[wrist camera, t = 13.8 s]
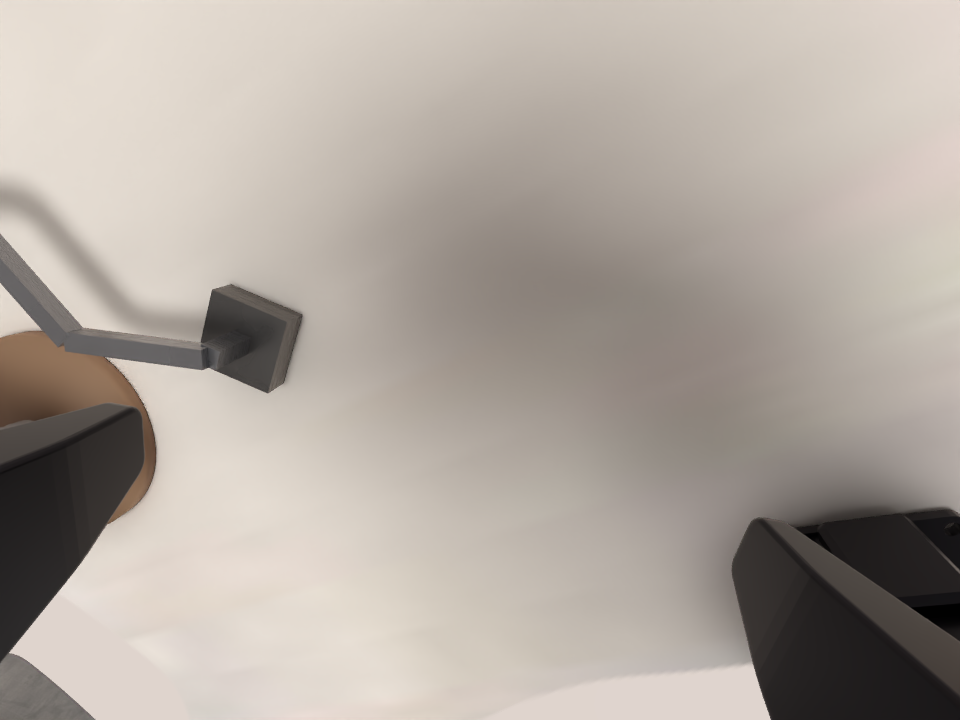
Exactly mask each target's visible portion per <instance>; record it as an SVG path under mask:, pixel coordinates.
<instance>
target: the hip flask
mask: <svg viewBox="0 0 960 720" xmlns="http://www.w3.org/2000/svg"><path fill="white" fill-rule="evenodd" d="M0 720H95V719H94V718H93V717H92V716H91V715H90V714H89V713H88V712H86V711H85V710H84V709H83V708H82V707H81V706H80V705H79V704H78V703H77V702H76V701H75V700H73V699H72V698H71V697H70V696H69V695H68V694H67V693H65V692H64V691H63V690H62V689H61V688H60V687H59V686H57V685H56V684H55V683H54V682H52V681H51V680H50V679H49V678H48V677H47V676H45V675H44V674H43V673H42V672H40V671H39V670H38V669H37V668H35V667H34V666H33V665H32V664H30V663H29V662H28V661H26V660H25V659H23V658H22V657H20V656H17V655H14V654H9V653H8V654H7V656H6V657H5V658H4V659H3V661H2V662H1V663H0Z"/></svg>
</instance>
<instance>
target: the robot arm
mask: <svg viewBox="0 0 960 720" xmlns="http://www.w3.org/2000/svg"><path fill="white" fill-rule="evenodd" d="M144 460H145V448H144V431H143V418H142V414H141V412H140V410H139V409H137V408H136V407H133V406H128V405H122V404H117V403H103V404H99V405H95V406H91V407H87V408H83V409H79V410H76V411H72V412H68V413H64V414H60V415H56V416H52V417H48V418H44V419H40V420H36V421H33V422H29V423H25V424H21V425H17V426H13V427H9V428H5V429H1V430H0V663H1V662H2V661H3V659H4V658H5V657H6V656H7V654H8V653H9V652H10V650H11V649H12V648H13V647H14V646H15V645H16V643H17V642H18V641H19V639H20V638H21V637H22V636H23V635H24V633H25V632H26V631H27V630H28V628H29V627H30V626H31V625H32V623H33V622H34V621H35V620H36V618H37V617H38V616H39V615H40V613H41V612H42V611H43V610H44V609H45V607H46V606H47V605H48V604H49V603H50V601H51V600H52V599H53V598H54V596H55V595H56V594H57V593H58V591H59V590H60V589H61V588H62V587H63V585H64V584H65V583H66V582H67V580H68V579H69V578H70V576H71V575H72V574H73V573H74V571H75V570H76V569H77V567H78V566H79V565H80V564H81V562H82V561H83V559H84V558H85V556H86V555H87V554H88V552H89V551H90V549H91V548H92V546H93V545H94V543H95V542H96V540H97V539H98V537H99V536H100V534H101V533H102V531H103V529H104V528H105V526H106V525H107V523H108V522H109V520H110V519H111V517H112V516H113V514H114V513H115V511H116V510H117V508H118V506H119V505H120V503H121V502H122V500H123V499H124V497H125V496H126V494H127V493H128V491H129V490H130V488H131V487H132V485H133V484H134V482H135V480H136V479H137V477H138V476H139V474H140V472H141V470H142V468H143V465H144ZM949 523H954V524H953V526H952V527H951V528H948V529H944V528H945V526H946V525H947V524H949ZM732 577H733V581H734V586H735V590H736V594H737V598H738V603H739V607H740V611H741V615H742V619H743V624H744V628H745V632H746V636H747V641H748V645H749V649H750V653H751V657H752V661H753V665H754V669H755V672H756V676H757V679H758V682H759V686H760V689H761V692H762V695H763V698H764V701H765V704H766V707H767V710H768V712H769V715H770V718H771V720H960V514H958V513H957V512H955V511H952V510H939V511H930V512H922V513H914V514H906V515H902V514H893V515H885V516H876V517H868V518H860V519H852V520H843V521H835V522H827V523H823V524H822V525H815V526H807V527H798V528H793V527H792V526H790V525H789V524H787V523H786V522H783V521H779V520H773V519H767V518H761V517H758V518H756V519H754V520H753V521H752V522H751V523H750V524H749V526H748V528H747V530H746V533H745V535H744V537H743V539H742V541H741V543H740V546H739V548H738V550H737V552H736V554H735V557H734V559H733V563H732Z"/></svg>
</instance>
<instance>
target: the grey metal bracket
mask: <svg viewBox="0 0 960 720" xmlns="http://www.w3.org/2000/svg"><path fill="white" fill-rule="evenodd" d="M0 283H1V284H2V285H3V287H4V288H5V289H6V290H7V291H8V292H9V293H10V294H11V295H12V297H13V298H14V299H15V300H16V301H17V302H18V303H19V304H20V306H21V307H22V308H23V309H24V310H25V311H26V312H27V313H28V315H29V316H30V317H31V318H32V319H33V320H34V321H35V322H36V323H37V325H38V326H39V327H40V328H41V329H42V330H43V331H44V332H45V334H46V335H47V336H48V337H49V338H50V339H51V340H52V341H53V343H54V344H55V345H56V346H57V347H62V346H64V348H65V352H72V353H80V354H87V355H94V356H102V357H109V358H117V359H124V360H131V361H139V362H146V363H153V364H161V365H168V366H176V367H183V368H190V369H198V370H204V369H206V368H211V369H213V370H215V371H218V372H220V373H222V374H224V375H227V376H229V377H231V378H234V379H236V380H238V381H241V382H243V383H245V384H248V385H250V386H252V387H254V388H257V389H259V390H261V391H264V392H266V393H269V392H271V391H272V390H274V389H275V388H277V387H278V386H280V385H282V384H283V383H284V380H285V376H286V373H287V369H288V365H289V362H290V358H291V355H292V351H293V347H294V344H295V340H296V336H297V333H298V329H299V326H300V322H301V318H302V314H300V313H297V312H295V311H293V310H290V309H288V308H286V307H283V306H281V305H279V304H276V303H274V302H271V301H269V300H267V299H264V298H262V297H260V296H257V295H255V294H253V293H250V292H248V291H246V290H243V289H241V288H239V287H236V286H234V285H232V284H231V285H227V286H224V287H220V288H216V289H213V290H212V292H211V297H210V302H209V306H208V311H207V316H206V320H205V325H204V330H203V334H202V339H201V343H198V342H191V341H183V340H175V339H167V338H159V337H152V336H144V335H136V334H128V333H120V332H112V331H105V330H97V329H89V328H83V327H82V326H81V325H80V324H79V323H78V322H77V320H76V319H75V318H74V317H73V316H72V315H71V314H70V313H69V311H68V310H67V309H66V308H65V307H64V306H63V305H62V303H61V302H60V301H59V300H58V299H57V298H56V297H55V295H54V294H53V293H52V292H51V291H50V290H49V289H48V288H47V286H46V285H45V284H44V283H43V282H42V281H41V280H40V278H39V277H38V276H37V275H36V274H35V273H34V272H33V270H32V269H31V268H30V267H29V266H28V265H27V264H26V263H25V261H24V260H23V259H22V258H21V257H20V256H19V255H18V253H17V252H16V251H15V250H14V249H13V248H12V247H11V246H10V244H9V243H8V242H7V241H6V240H5V239H4V238H3V236H2V235H1V234H0Z"/></svg>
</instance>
